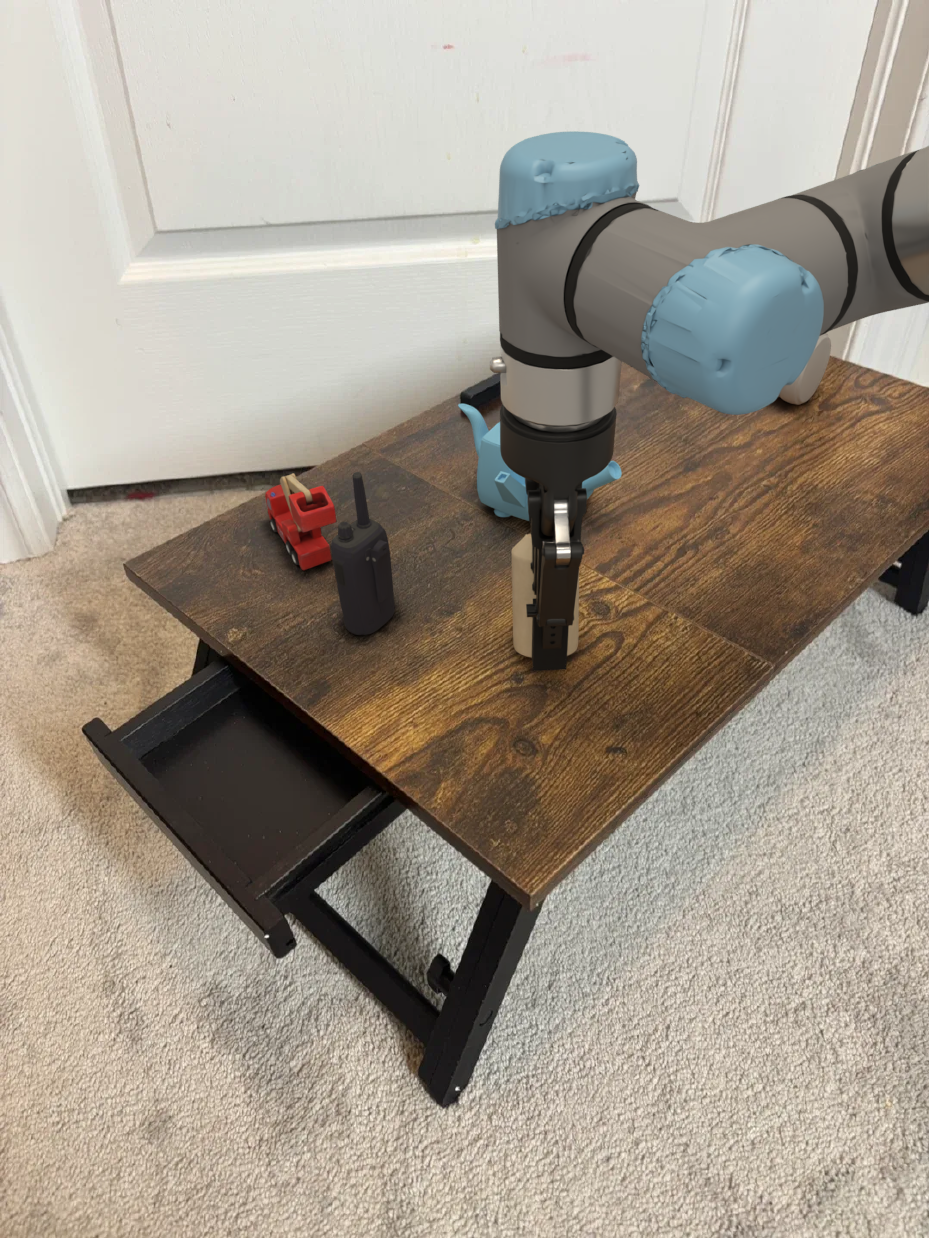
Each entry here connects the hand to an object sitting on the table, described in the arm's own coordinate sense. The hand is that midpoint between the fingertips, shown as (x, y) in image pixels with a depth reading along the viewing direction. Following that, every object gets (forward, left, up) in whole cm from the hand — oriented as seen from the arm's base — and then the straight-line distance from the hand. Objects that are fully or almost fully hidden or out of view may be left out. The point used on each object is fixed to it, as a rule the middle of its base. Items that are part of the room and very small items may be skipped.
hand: (548, 663), depth 75 cm
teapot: (+19, -16, -2) cm, 25 cm away
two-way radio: (+16, +6, -2) cm, 17 cm away
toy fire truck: (+29, +5, -2) cm, 29 cm away
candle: (+2, -2, -1) cm, 3 cm away
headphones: (+22, -52, -2) cm, 56 cm away
